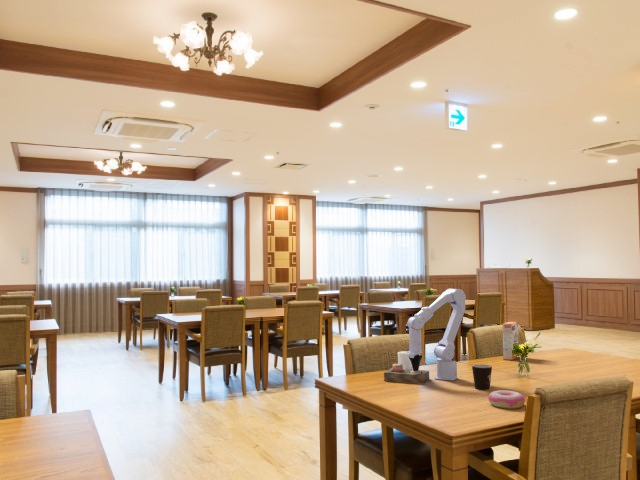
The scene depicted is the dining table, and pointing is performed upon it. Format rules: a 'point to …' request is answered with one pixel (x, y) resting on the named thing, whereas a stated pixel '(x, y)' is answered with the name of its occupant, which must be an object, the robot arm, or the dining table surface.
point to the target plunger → (397, 367)
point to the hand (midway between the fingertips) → (415, 370)
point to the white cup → (404, 360)
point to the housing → (406, 376)
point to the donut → (506, 399)
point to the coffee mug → (482, 376)
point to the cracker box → (509, 339)
